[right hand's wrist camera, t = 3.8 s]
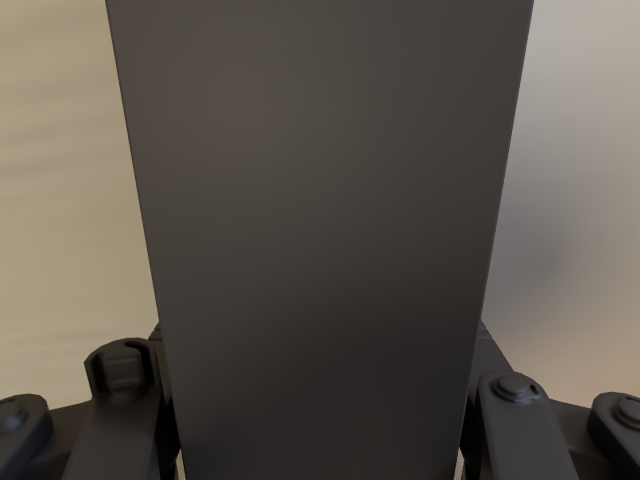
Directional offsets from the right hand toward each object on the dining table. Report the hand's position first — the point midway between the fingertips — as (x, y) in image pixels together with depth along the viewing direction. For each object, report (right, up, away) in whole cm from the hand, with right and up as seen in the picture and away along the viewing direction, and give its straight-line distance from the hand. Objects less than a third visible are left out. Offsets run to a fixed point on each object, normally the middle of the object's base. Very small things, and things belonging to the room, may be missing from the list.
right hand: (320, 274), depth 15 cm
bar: (0, +9, -3) cm, 9 cm away
